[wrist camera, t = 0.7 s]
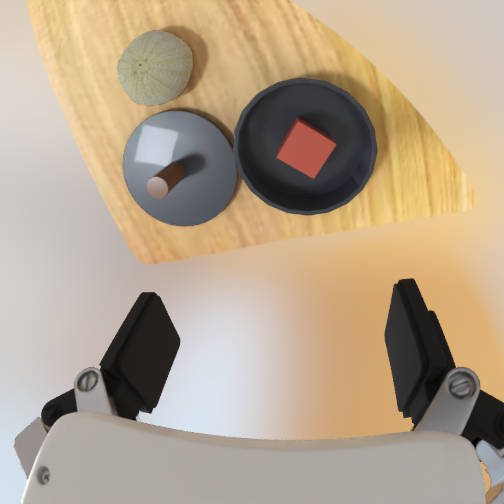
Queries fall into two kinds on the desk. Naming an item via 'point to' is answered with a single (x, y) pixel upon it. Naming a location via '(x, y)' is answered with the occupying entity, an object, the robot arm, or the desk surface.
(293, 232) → the desk surface
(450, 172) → the desk surface
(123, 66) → the sea urchin shell
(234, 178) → the pot lid
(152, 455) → the robot arm
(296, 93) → the pot
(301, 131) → the block
